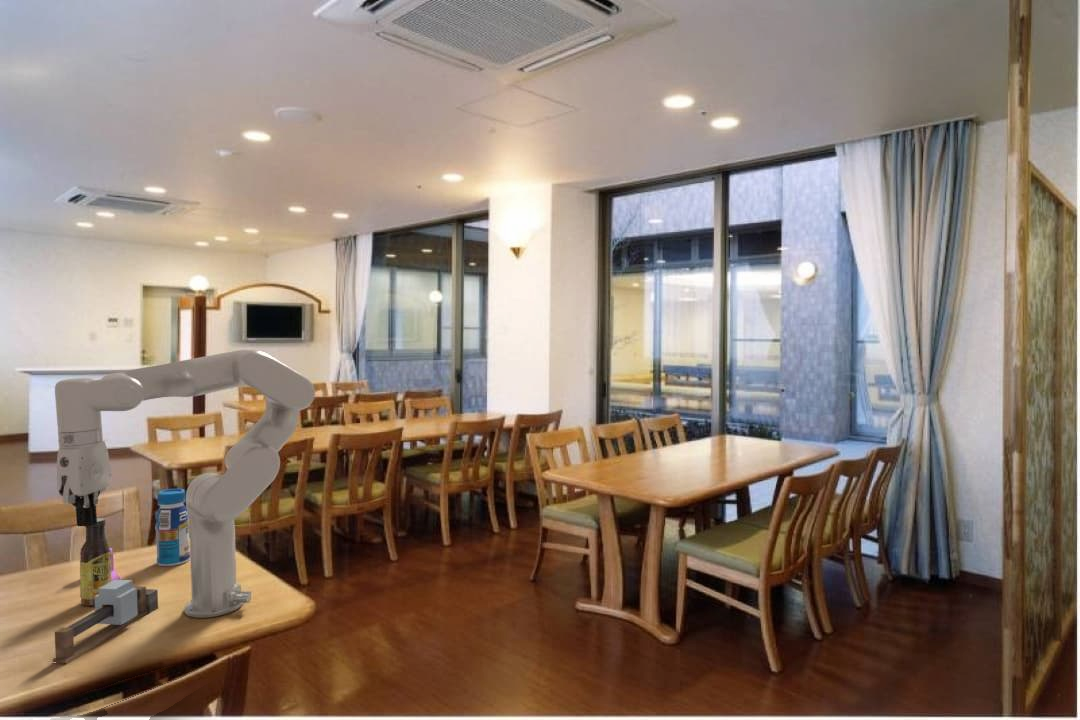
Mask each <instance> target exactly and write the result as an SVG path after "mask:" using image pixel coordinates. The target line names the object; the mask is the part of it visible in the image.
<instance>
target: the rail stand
mask: <svg viewBox="0 0 1080 720" xmlns="http://www.w3.org/2000/svg"><path fill="white" fill-rule="evenodd" d="M146 587H147V586H140V585H137V586H134V587H133V588H137V608H138V615H136V616H135V617H133V618H132V619H130V620H128V621H127V622H125V623H124V624H122V625H114V624H108V625H106V627H104V628H102V629H101V630H99V631H96V632H95V633H94V634H93V635H91V636H89V637H87V638H86V639H84V640H82V641H81V642H79V643H77V644H76V645H75V644H74V643H75V640H74V638H75V637H78V636H79V635H80V634H82V633H84V632H86V631H87V630H89V629H91V628H92V627H94V626H96V625H97V623H99V622H101V621H102V620H104V619H106V618H108V617H109V616H111V615H113V614H114V609H113V605H105V606H104V607H102V608H100V609H98V610H97V611H95V610H94V611H92V612H91V613H89V614H88V615H86V616H84V617H82V618H81V619H79V620H77V621H75V622H74V623H72V624H70V625H68V626H67V627H61V628H59V629H57V630H54V646H55V650H54V651H55V652H54V653H55V657H54V658H53V659H52V663H53V662H56V663H66V664H65V665H68V664H70V663H71V662H73V661H74V660H76V659H78V658H79V657H81V656H82V655H83V654H85V653H87V652H89V651H90V650H92V649H93V648H95V647H96V646H98V645H100V644H101V643H103V642H104V641H106V640H107V639H109V638H110V637H112V636H114V635H116V634H118V632H120V631H122V630H124V629H125V628H127V627H128V626H130V625H131V624H132V623H135V622H137V620H139V619H141V618H142V617H144V616H145V615H148V614H151V613H152V612H155V611H157V609H159V598H158V597H159V596H158V592H159V591H158V589H152V588H151V589H149V588H146ZM69 662H70V663H69ZM67 663H68V664H67Z"/></svg>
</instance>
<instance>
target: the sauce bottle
mask: <svg viewBox="0 0 1080 720" xmlns="http://www.w3.org/2000/svg"><path fill="white" fill-rule="evenodd" d="M84 527H85V534H86V535H85V541H84V543H83V544H82V547H81V548H80V558H79V559H80V561H79V576H80V577H79V578H80V579H79V586H80V588H79V589H80V591H79V593H80V596H79V597H80V599H81V600H80V603H81V605H82V606H85V607H92V606H94V607H95V596H96V595H98V594H99V590H98V588H100V587H102V586H104V585H106V584H108V583H110V582H111V551H110V549H109V548H110V547H109V544H108V541H107V539H106V534H105V533H106V532H105V531H106V530H105V527H106V518H104V517H97V523H96V524H94V525H92V526H84Z"/></svg>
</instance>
